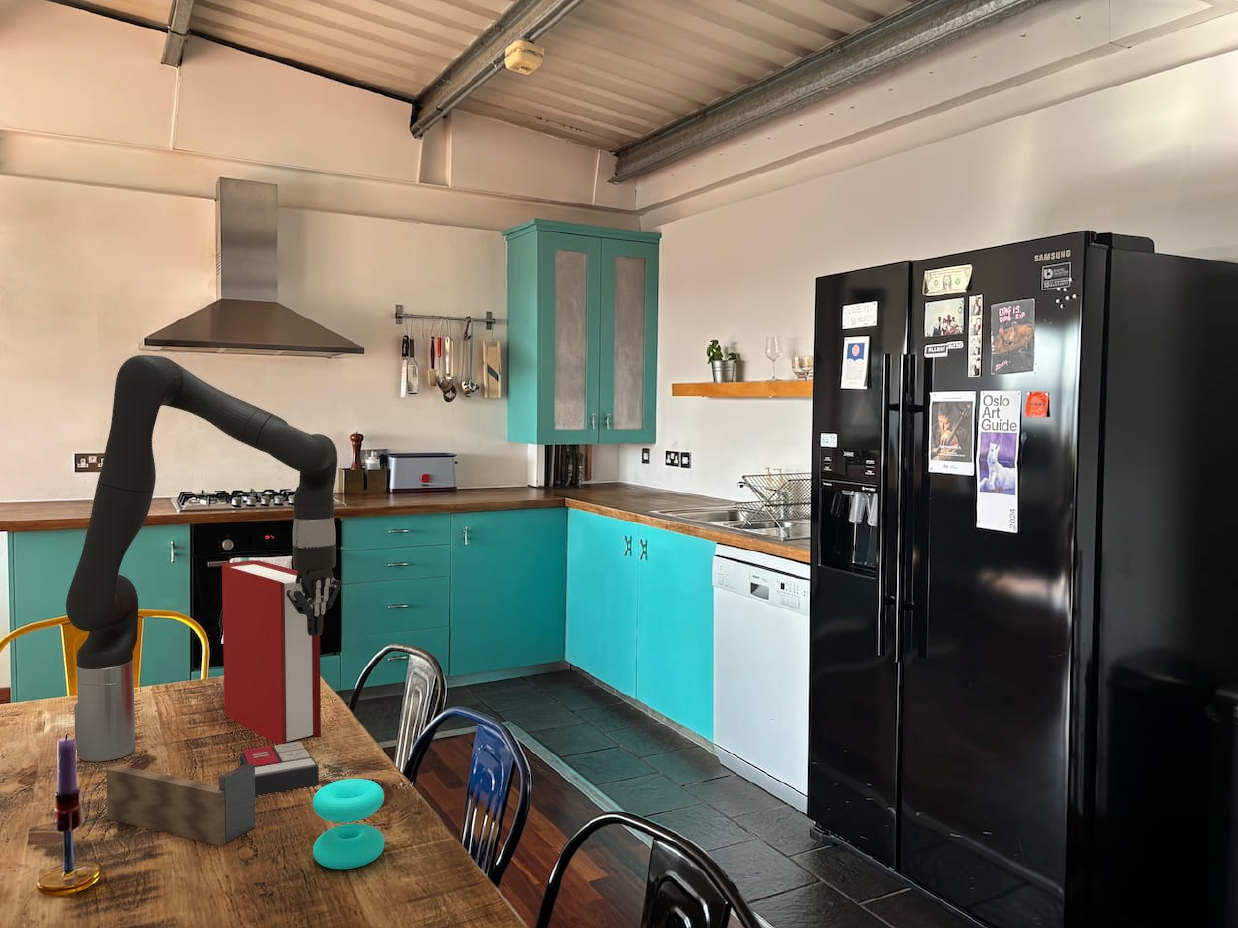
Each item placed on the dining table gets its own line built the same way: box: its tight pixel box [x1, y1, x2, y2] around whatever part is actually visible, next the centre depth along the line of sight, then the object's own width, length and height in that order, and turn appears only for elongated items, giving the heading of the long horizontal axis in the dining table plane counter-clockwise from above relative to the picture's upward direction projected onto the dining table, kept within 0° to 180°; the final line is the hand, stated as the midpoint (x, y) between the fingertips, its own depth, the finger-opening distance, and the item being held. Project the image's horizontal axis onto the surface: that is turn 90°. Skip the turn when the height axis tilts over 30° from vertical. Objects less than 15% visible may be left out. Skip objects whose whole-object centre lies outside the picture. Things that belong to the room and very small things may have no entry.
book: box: [221, 559, 322, 745], centre depth 191 cm, size 27×8×32 cm, turn 46°
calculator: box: [239, 741, 320, 797], centre depth 166 cm, size 11×4×15 cm
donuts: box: [312, 778, 385, 870], centre depth 136 cm, size 10×10×10 cm
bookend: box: [218, 763, 257, 844], centre depth 143 cm, size 1×6×10 cm, turn 158°
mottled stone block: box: [105, 764, 227, 847], centre depth 147 cm, size 23×7×8 cm, turn 68°
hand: (315, 634), depth 175 cm, fingers closed
